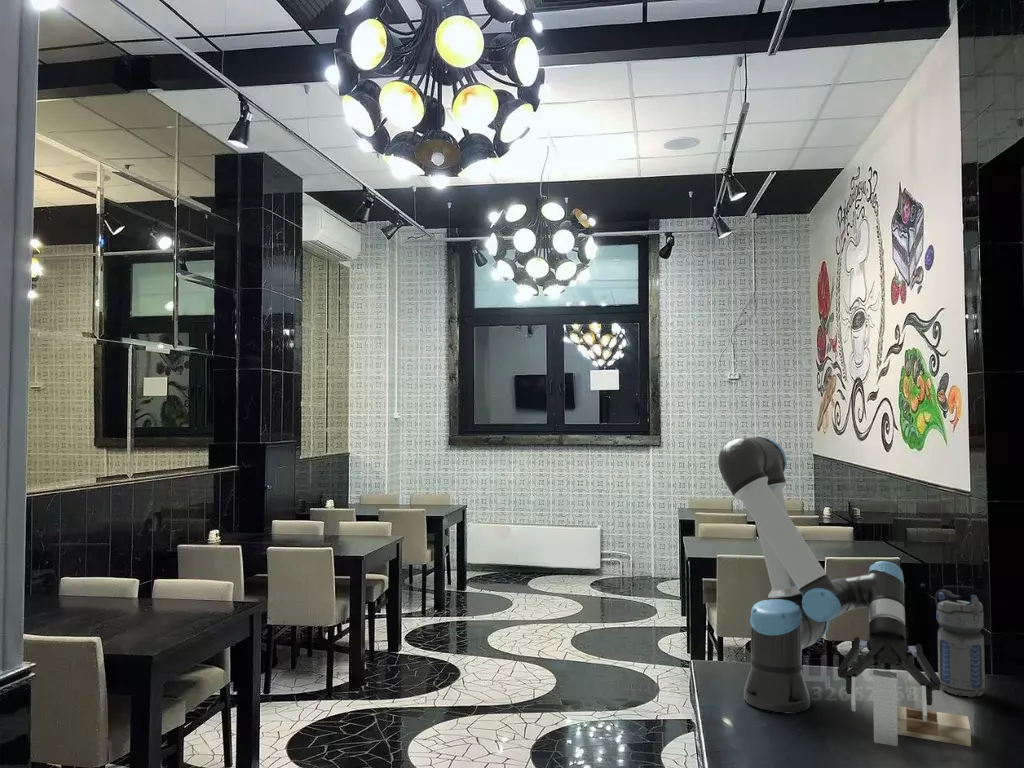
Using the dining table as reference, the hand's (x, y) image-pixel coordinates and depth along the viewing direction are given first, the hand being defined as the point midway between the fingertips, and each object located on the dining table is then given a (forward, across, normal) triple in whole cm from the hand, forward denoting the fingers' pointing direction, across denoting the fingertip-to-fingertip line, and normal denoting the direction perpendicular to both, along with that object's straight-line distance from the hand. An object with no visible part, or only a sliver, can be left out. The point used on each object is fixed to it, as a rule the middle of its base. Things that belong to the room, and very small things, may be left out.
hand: (888, 713), depth 166 cm
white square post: (+3, +1, -6) cm, 7 cm away
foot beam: (-3, -6, -12) cm, 14 cm away
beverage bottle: (-27, -16, -36) cm, 48 cm away
